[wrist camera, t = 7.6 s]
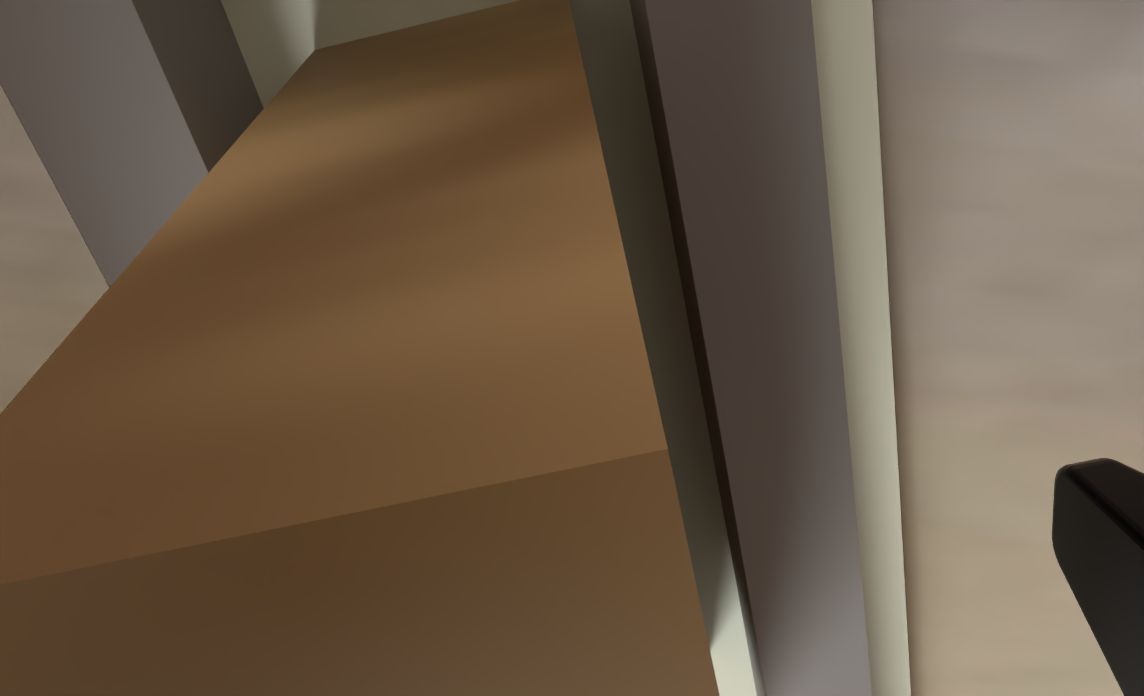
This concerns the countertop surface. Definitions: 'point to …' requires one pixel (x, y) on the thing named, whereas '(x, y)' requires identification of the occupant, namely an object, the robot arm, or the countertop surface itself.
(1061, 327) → the countertop surface
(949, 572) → the countertop surface
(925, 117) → the countertop surface
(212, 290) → the door panel
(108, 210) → the track board
